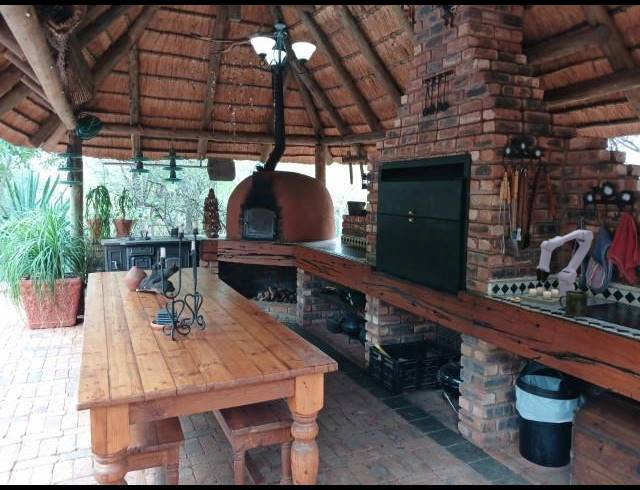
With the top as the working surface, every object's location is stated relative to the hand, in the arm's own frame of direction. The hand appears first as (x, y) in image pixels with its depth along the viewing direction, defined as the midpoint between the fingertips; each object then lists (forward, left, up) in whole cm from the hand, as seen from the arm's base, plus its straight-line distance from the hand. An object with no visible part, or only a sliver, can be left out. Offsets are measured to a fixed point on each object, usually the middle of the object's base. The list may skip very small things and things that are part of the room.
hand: (540, 281), depth 312 cm
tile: (+14, -8, -10) cm, 20 cm away
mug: (+24, +32, -11) cm, 42 cm away
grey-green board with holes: (+3, +4, -10) cm, 12 cm away
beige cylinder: (-1, 0, -8) cm, 8 cm away
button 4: (+8, 0, -8) cm, 12 cm away
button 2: (+8, +9, -8) cm, 14 cm away
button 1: (-1, +9, -8) cm, 12 cm away
